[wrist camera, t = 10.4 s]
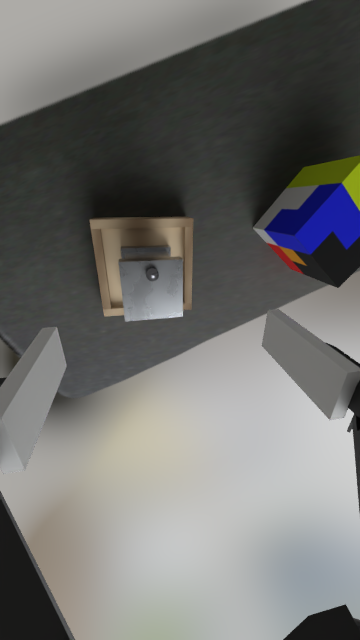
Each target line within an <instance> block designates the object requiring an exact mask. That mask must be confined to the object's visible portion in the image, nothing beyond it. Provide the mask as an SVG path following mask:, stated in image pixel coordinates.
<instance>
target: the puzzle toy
mask: <svg viewBox="0 0 360 640" xmlns="http://www.w3.org/2000/svg"><path fill="white" fill-rule="evenodd" d="M253 229H254V230H255V231H256V232H257V233H258V234H259V235H260V236H261V237H262V238H263V239H264V241H265V242H266V243H267V244H268V245H269V246H270V247H271V248H272V249H273V250H274V251H275V252H276V253H277V255H278V256H279V257H280V258H281V259H282V260H283V261H284V262H285V263H286V264H287V265H288V266H289V267H290V268H291V269H292V270H295V271H297V272H300V273H302V274H305V275H307V276H310V277H312V278H315V279H317V280H320V281H322V282H325V283H327V284H330V285H332V286H335V287H337V288H338V287H340V286H341V284H342V283H343V282H345V281H346V280H347V279H348V278H349V277H350V276H351V275H352V274H353V273H354V272H355V271H356V270H357V269H358V268H359V267H360V156H355V157H350V158H346V159H341V160H336V161H331V162H326V163H321V164H317V165H312V166H307V167H303V169H302V170H301V171H300V172H299V173H298V175H297V176H296V177H295V178H294V179H293V180H292V182H291V183H290V184H289V185H288V186H287V188H286V189H285V190H284V191H283V192H282V194H281V195H280V196H279V197H278V198H277V199H276V201H275V202H274V203H273V204H272V205H271V207H270V208H269V209H268V210H267V211H266V213H265V214H264V215H263V216H262V217H261V218H260V220H259V221H258V222H257V223H256V224H255V226H254V227H253Z"/></svg>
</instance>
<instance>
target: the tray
mask: <svg viewBox="0 0 360 640" xmlns="http://www.w3.org/2000/svg"><path fill="white" fill-rule="evenodd" d="M90 227H91V233H92V240H93V246H94V253H95V259H96V266H97V272H98V279H99V285H100V292H101V298H102V305H103V311H104V316H116V315H124V307H123V299H122V290H121V281H120V272H119V263H118V261H119V259H122V257H121V247H124V246H155V245H169V246H170V247H171V257H177V256H180V257H181V258H182V259H183V310H191V304H192V253H193V218H190V217H123V218H92V219H90Z"/></svg>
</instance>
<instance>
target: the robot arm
mask: <svg viewBox="0 0 360 640" xmlns="http://www.w3.org/2000/svg"><path fill="white" fill-rule="evenodd" d="M262 346H263V347H264V349H265V350H266V351H267V352H268V353H269V354H270V355H271V356H272V357H273V358H274V359H275V360H276V362H277V363H278V364H279V365H280V366H281V367H282V368H283V369H284V370H285V372H287V374H288V375H289V376H290V377H291V378H292V379H293V380H294V381H295V382H296V383H297V385H298V386H299V387H300V388H301V389H302V390H303V391H304V392H305V393H306V394H307V396H309V398H310V399H311V400H312V401H313V402H314V403H315V404H316V405H317V406H318V408H319V409H320V410H321V411H322V412H323V413H324V414H325V415H326V416H327V417H328V419H330V420H333V419H339V418H344V416H345V415H346V412H347V410H348V408H349V409H350V410H351V411H353V412H354V416H353V418H352V421H351V423H350V425H349V427H348V430H347V431H348V432H350V431H351V429H353V437H354V449H355V461H356V473H357V486H358V498H359V511H360V364H359V363H358V362H356V361H355V360H354V359H352V358H350V357H349V356H348V355H346V354H344V352H342V351H341V350H339V349H338V348H336V347H334V346H332V345H330V344H328V343H325V342H323V341H322V340H320V339H319V338H318V337H316V336H315V335H313V334H312V333H311V332H309V331H308V330H307V329H305V328H304V327H302V326H301V325H300V324H298V323H297V322H295V321H294V320H293V319H291V318H289V317H288V316H287V315H286V314H284V313H283V312H281V311H280V310H279V309H277V310H268V313H267V319H266V325H265V330H264V336H263V342H262ZM66 367H67V365H66V361H65V357H64V353H63V349H62V345H61V342H60V338H59V334H58V330H57V327H49V328H42V329H41V331H40V332H39V334H38V335H37V336H36V338H35V339H34V341H33V342H32V343H31V345H30V346H29V348H28V349H27V350H26V352H25V353H24V354H23V356H22V357H21V359H20V360H19V361H18V363H17V364H16V366H15V367H14V368H13V370H12V371H11V373H10V374H9V375H8V377H7V378H0V469H1V471H2V473H3V474H6V473H11V472H18V471H23V470H25V469H26V467H27V464H28V462H29V459H30V456H31V454H32V451H33V449H34V447H35V444H36V441H37V439H38V437H39V434H40V432H41V429H42V427H43V424H44V422H45V419H46V416H47V414H48V411H49V409H50V407H51V404H52V401H53V399H54V397H55V394H56V392H57V389H58V387H59V384H60V382H61V379H62V377H63V374H64V372H65V369H66ZM0 640H75V639H74V637H73V635H72V633H71V631H70V629H69V627H68V625H67V623H66V621H65V619H64V617H63V615H62V613H61V611H60V609H59V607H58V605H57V603H56V601H55V599H54V597H53V595H52V593H51V591H50V589H49V587H48V585H47V583H46V581H45V579H44V577H43V575H42V573H41V571H40V569H39V567H38V565H37V563H36V561H35V559H34V557H33V555H32V553H31V551H30V549H29V547H28V545H27V543H26V541H25V539H24V537H23V535H22V533H21V531H20V529H19V527H18V525H17V523H16V521H15V520H14V517H13V515H12V513H11V511H10V509H9V507H8V505H7V503H6V501H5V499H4V497H3V495H2V493H1V492H0ZM283 640H360V620H358V619H355V618H353V617H352V615H351V613H350V612H349V610H348V608H347V606H346V605H342V606H339V607H336V608H333V609H330V610H326V611H323V612H320V613H316V614H313V615H310V616H308V617H307V618H306V619H305V620H304V621H303V622H301V623H300V624H299V626H297V627H296V628H295V629H294V630H293V631H292V632H291V633H290V634H289V635H288V636H287V637H286V638H285V639H283Z"/></svg>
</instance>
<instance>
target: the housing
mask: <svg viewBox="0 0 360 640" xmlns="http://www.w3.org/2000/svg"><path fill="white" fill-rule="evenodd" d="M121 257H122V259H119V261H118V263H119V272H120V281H121V290H122V299H123V307H124V316H125V321H135V320H147V319H159V318H171V317H183V259H182V258H181V257H180V256H177V257H171V247H170V246H169V245H155V246H124V247H121Z"/></svg>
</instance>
